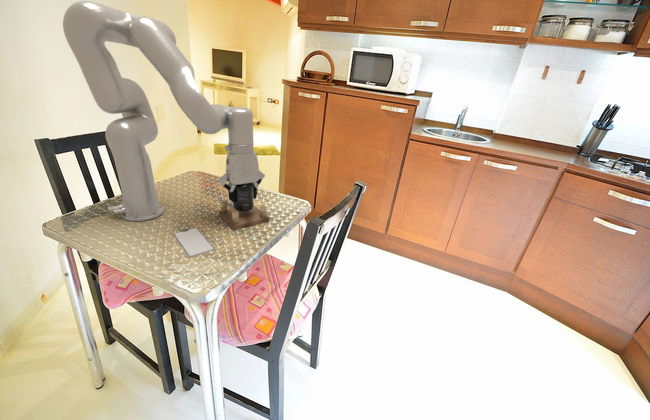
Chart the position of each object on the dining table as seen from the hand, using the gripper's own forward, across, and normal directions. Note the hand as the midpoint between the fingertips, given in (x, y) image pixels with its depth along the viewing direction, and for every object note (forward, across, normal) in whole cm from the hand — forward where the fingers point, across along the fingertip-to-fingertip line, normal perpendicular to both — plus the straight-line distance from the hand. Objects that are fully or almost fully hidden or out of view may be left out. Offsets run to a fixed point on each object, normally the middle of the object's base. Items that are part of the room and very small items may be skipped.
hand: (243, 198), depth 101 cm
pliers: (+8, +3, +14) cm, 16 cm away
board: (+7, 0, 0) cm, 7 cm away
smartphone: (+8, -19, -7) cm, 22 cm away
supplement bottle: (+3, 0, 0) cm, 3 cm away
